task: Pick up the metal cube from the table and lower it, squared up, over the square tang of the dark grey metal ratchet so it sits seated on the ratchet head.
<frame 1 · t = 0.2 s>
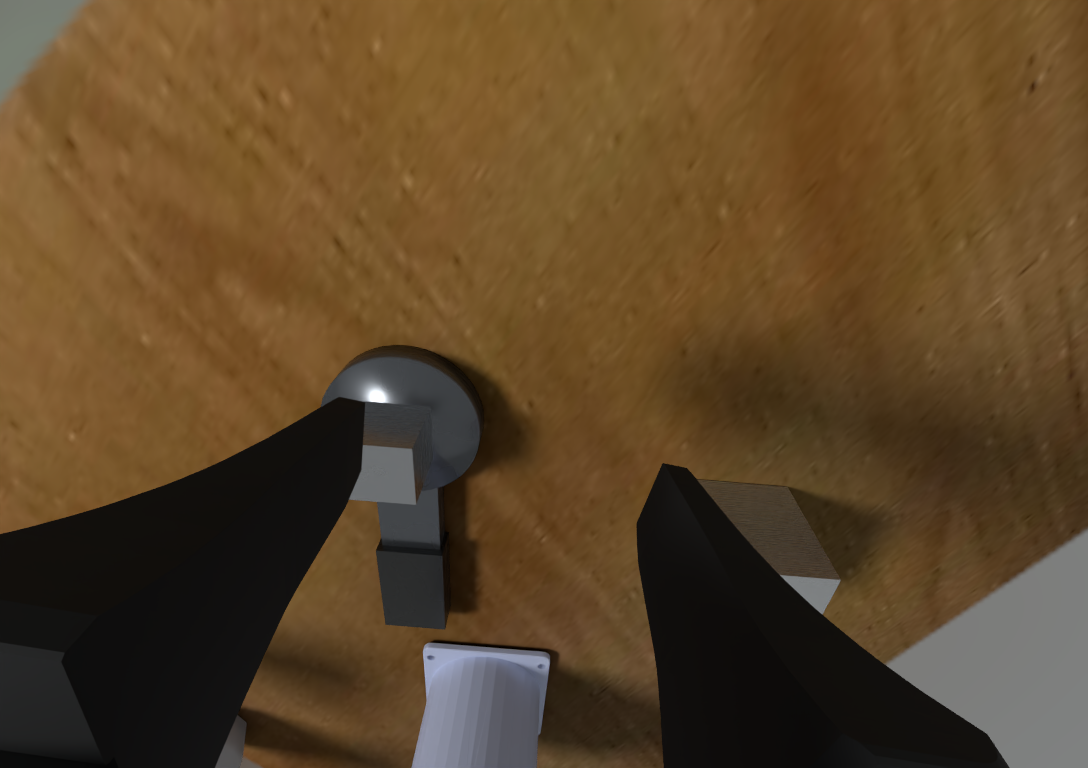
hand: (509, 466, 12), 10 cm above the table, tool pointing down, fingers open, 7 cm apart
ratchet: (408, 413, 23), on the table
salt shaker: (220, 717, 38), on the table
metal cube: (724, 520, 26), on the table
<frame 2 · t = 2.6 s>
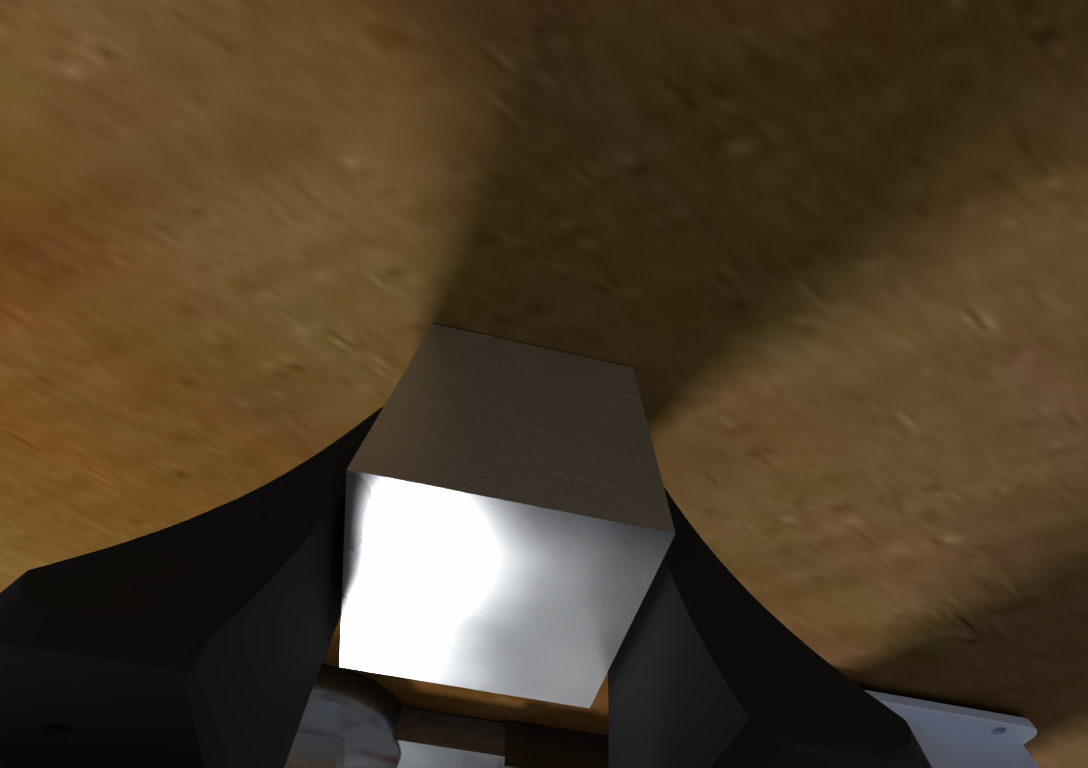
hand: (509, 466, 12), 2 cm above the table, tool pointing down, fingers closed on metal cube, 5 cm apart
ratchet: (323, 713, 21), on the table
metal cube: (515, 428, 13), on the table, touching gripper
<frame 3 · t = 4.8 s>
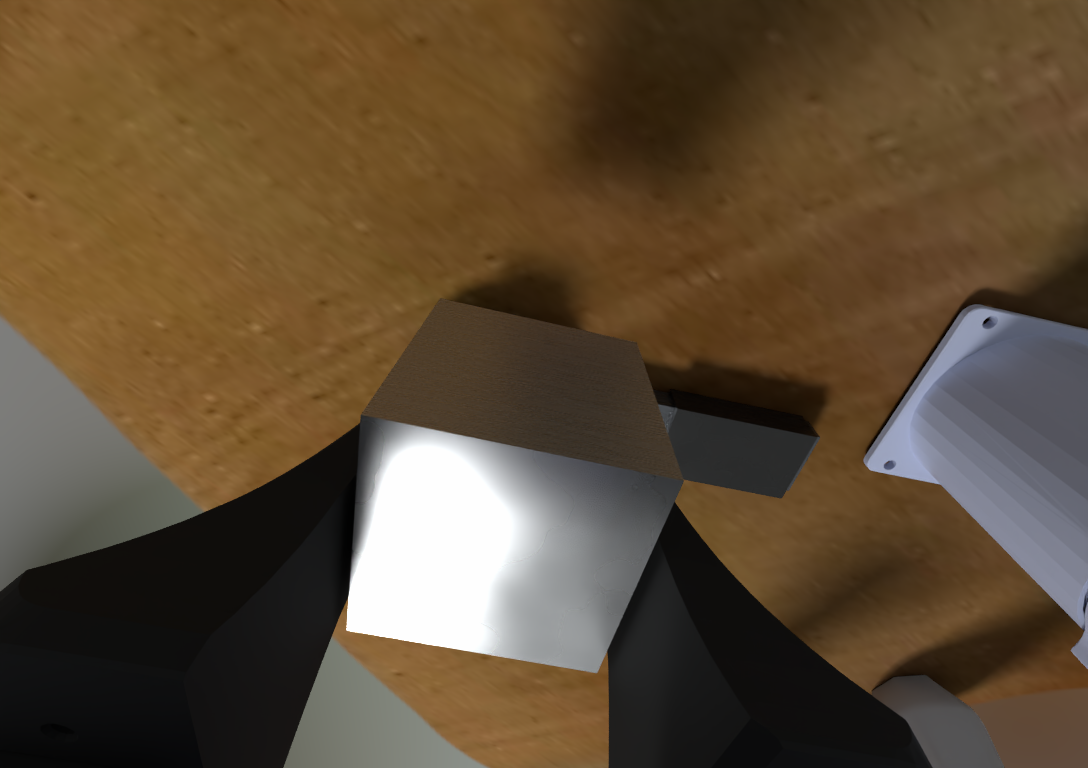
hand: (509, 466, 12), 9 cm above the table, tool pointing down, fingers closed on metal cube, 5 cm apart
ratchet: (493, 387, 22), on the table
salt shaker: (903, 689, 32), on the table
metal cube: (519, 405, 14), point 7 cm above the table, touching gripper
when the fingers open (4 cm above the table, at t = 7.3 s): metal cube stays where it is, resting on ratchet.
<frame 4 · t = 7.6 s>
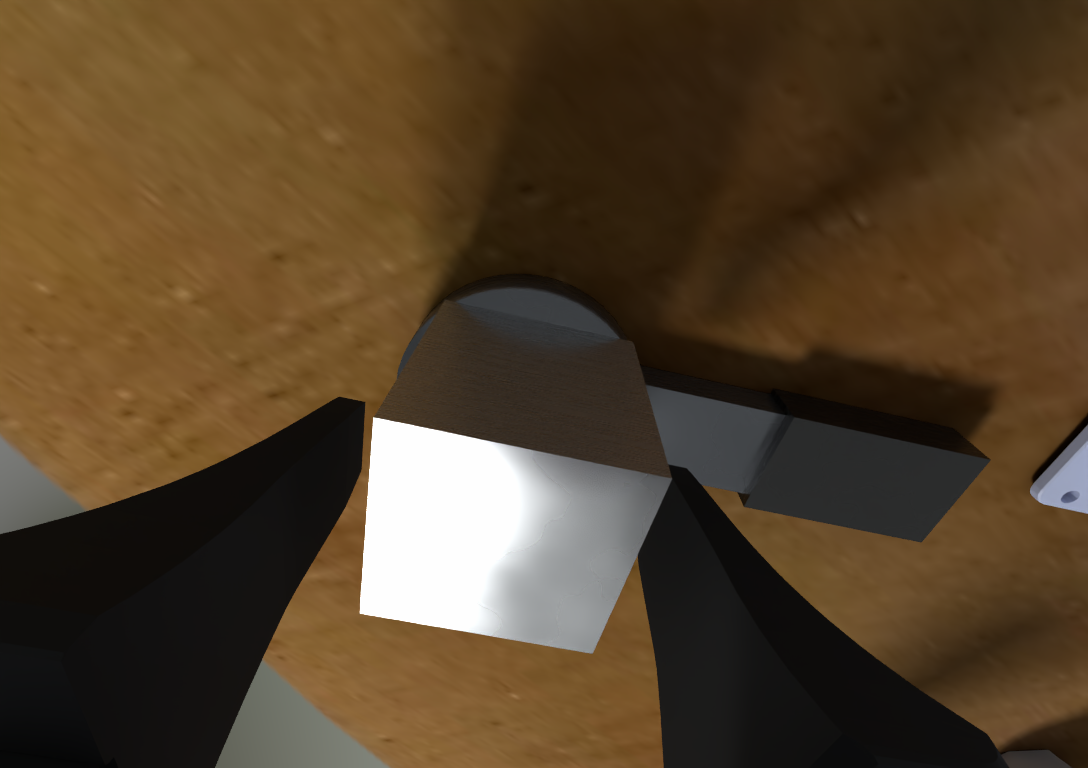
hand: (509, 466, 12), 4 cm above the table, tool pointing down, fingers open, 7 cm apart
ratchet: (521, 384, 16), on the table
salt shaker: (1014, 764, 26), on the table
metal cube: (521, 401, 14), point 1 cm above the table, touching ratchet
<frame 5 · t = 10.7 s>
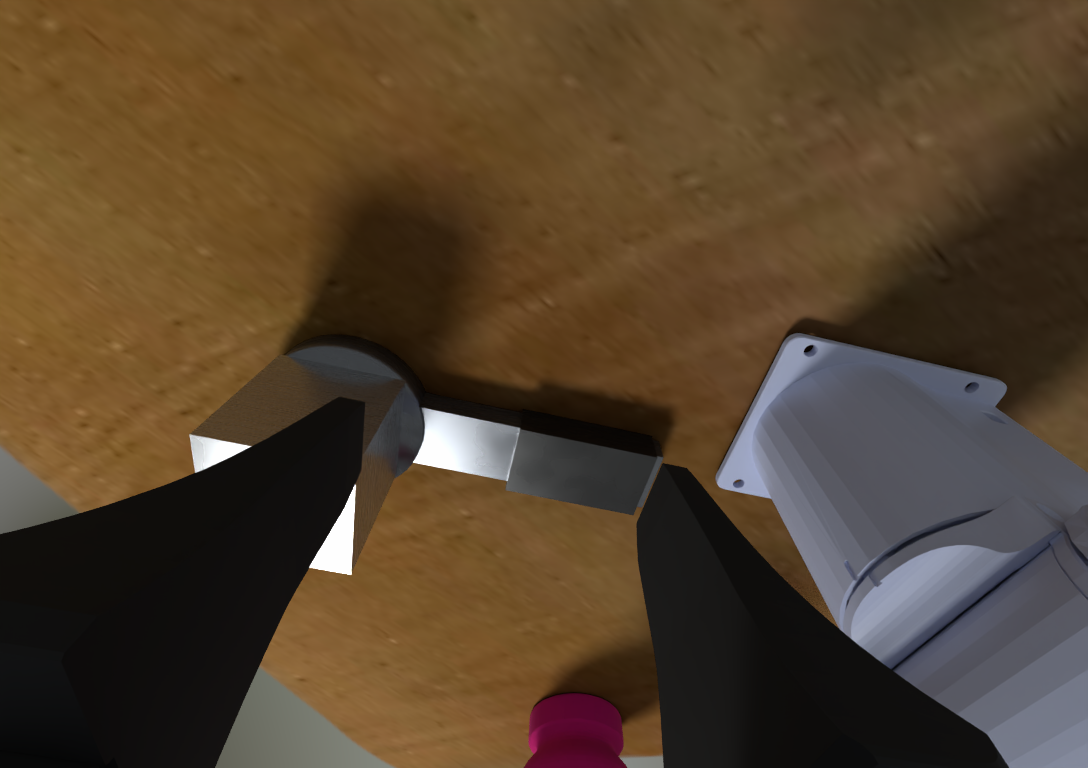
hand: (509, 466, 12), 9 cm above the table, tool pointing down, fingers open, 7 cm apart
ratchet: (352, 406, 23), on the table
pepper mill: (575, 714, 35), on the table
metal cube: (341, 418, 21), point 1 cm above the table, touching ratchet
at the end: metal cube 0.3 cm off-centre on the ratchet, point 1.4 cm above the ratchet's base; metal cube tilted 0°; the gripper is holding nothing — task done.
